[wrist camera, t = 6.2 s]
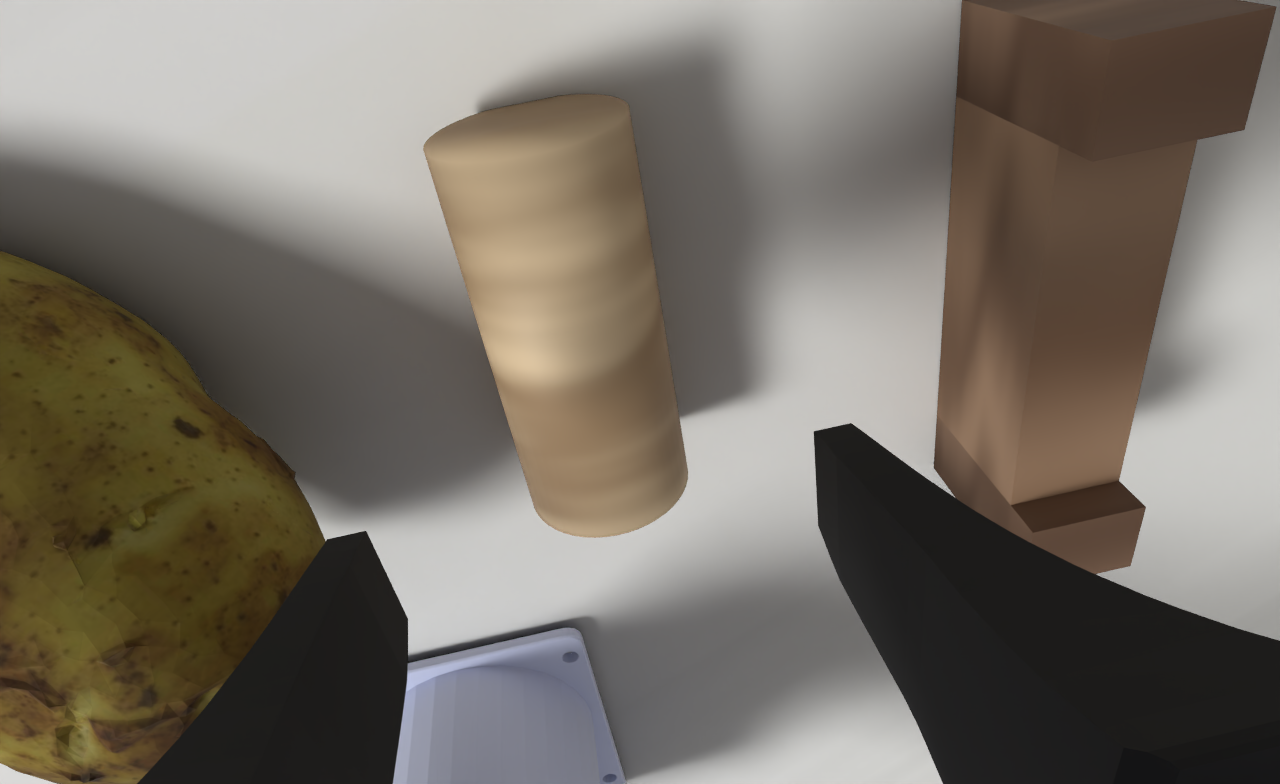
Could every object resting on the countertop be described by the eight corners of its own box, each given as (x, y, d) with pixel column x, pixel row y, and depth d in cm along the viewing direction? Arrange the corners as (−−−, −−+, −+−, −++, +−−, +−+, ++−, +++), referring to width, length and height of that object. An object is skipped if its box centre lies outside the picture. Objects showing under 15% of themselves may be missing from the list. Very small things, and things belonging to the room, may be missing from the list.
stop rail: (1022, 447, 24) (1130, 565, 20) (933, 468, 24) (1024, 590, 20) (1088, -26, 17) (1276, 6, 13) (962, 0, 17) (1111, 40, 13)
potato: (18, 52, 15) (-361, 192, 8) (418, 496, 22) (383, 764, 15) (-309, 257, 16) (-874, 525, 10) (171, 619, 23) (39, 920, 16)
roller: (675, 420, 22) (700, 518, 19) (532, 448, 22) (532, 551, 19) (619, 82, 17) (640, 134, 14) (434, 118, 17) (411, 178, 14)
